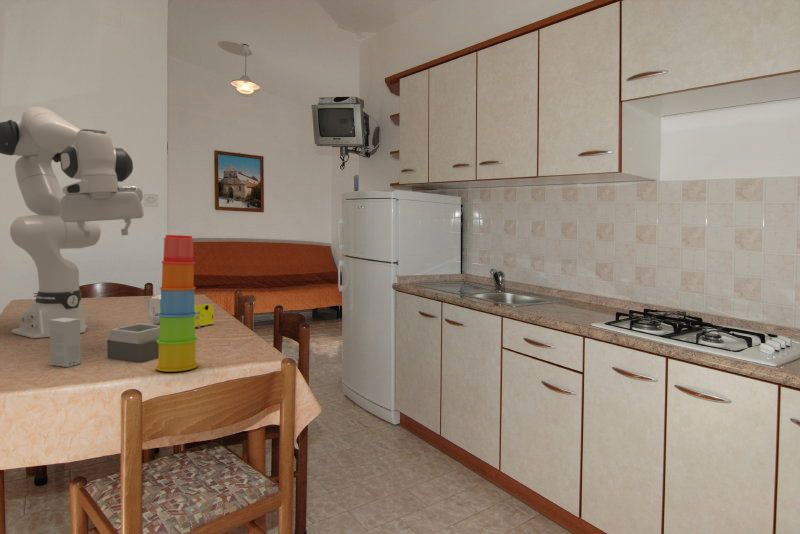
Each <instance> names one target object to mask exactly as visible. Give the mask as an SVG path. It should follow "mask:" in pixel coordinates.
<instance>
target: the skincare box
mask: <svg viewBox="0 0 800 534" xmlns="http://www.w3.org/2000/svg"><path fill="white" fill-rule="evenodd" d="M49 326H50V337H49V351H50V354H49V355H50V366H54V365H55V366H56V367H61V366H62V367H64V368H69V367H70V368H71V367H73V365H74V366H77V365H80V363H81V364H82V348H81V346H82V342H81V341H82V339H81V333H80V319H72V318H58V319H52V320H49Z"/></svg>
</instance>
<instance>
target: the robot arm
mask: <svg viewBox="0 0 800 534" xmlns="http://www.w3.org/2000/svg"><path fill="white" fill-rule="evenodd" d="M0 154H2V155H5V156H10V157H11V156H18V157H19V156H20V157H19V158H18V159H17V160H16V161H15V165H14V171H15V177H16V181H17V185H18V187H19V190H20V193H21V195H22V198H23V201H24V203H25V206H26V207H27V208H28V210H30V212H31V213H34V214H30V215H24V216H19V217H17V218H15V219H14V220H13V221H12V223H11V225H10V228H9V235H10V238H11V240H12V242H13V243H14V244H15V245H16V246H18V248H20V249H22V250H23V251H25V252H26V253H27V254H28V255H29V256H30V257H31V258H32V260H33V262H34V264H35V267H36V270H37V277H38V292H33V295H34V296H33V297H34V298H35V297H36V298H35V299H34V300H35V301H34V302H35V303H33V304H32V306H30V307H29V308H28V309H27V310H25V311H24V312H23V313H22V314H21V315H20V316H21V317H20V326H19V327H16V328H13V329H11V334H16V335H19V336H23V337H27V338H31V339H38V338H39V339H40V338H50V326H49V320H52V319H58V318H72V319H80V334H82V333H85V332H86V331H87V329H88V324H86V319H85V314H84V313H85V312H84V306H83V304H82V303H81V300H82V291H81V289H80V269H79V268H78V266H77V265H76V264H75V263H74V262H72V261H70V260H68V259H66V258H64V257H63V256H62V254H61V250H67V249H84V248H88V247H93V246H95V245H96V244H97V243H98V242H99V241H100V238H101V228H100V225H99V224H98V221H99V222H100V221H115V220H117V221H118V220H123V221H124V223H125V226H124V228H121V229H120V232H121V236H129V228H130V226H131V224H132V219H133V220H135V219H142V218H144V215H145V214H144V213H145V212H144V207H143V204H142V203H143V202H142V201H143V197H144V196H143V195H144V194H143V191H142V190H141V188H139V187H136V186H135V185H131V186H119V183H121V182H123V181H125V180H127V179H128V178H129V177H130V176H131V174H133V173H132V172H133V170H134V165H133V164H134V163H133V160H132V157H131V156H130V155H129V153H128V152H127V151H126V150H124V149H123V148H121V147H118V148H117V147H114V146H113V142H112V138H111V135H110V133H109V132H106V131H105V130H98V129H88V128H87V129H85V128H82V129H81V128H79V127H77V126H75V125H74V124H72V123H70V122H69V121H67V120H66V119H64V118H63V117H62V116H61V115H59V114H57V113H56V112H54V111H53V110H51V109H48V108H46V107H42V106H39V105H38V106H31V107H29V108H27V109H26V110H25V111H24V112H23V113H22V116H21V121H14V120H12V119H9V120H7V121H0ZM52 162H54V163H60V169H61V171H62V172H63V173H64V174H65V175H66V176H67V177H68V178H70V179H75V180H80V181H77V182H74V183H71V184H68V185H65V186H63V187H62V188H61V185H60V182H59V181H58V177H57V176H56V174H55V172H54V170H53V167H52Z"/></svg>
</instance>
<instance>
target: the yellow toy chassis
mask: <svg viewBox="0 0 800 534" xmlns="http://www.w3.org/2000/svg"><path fill="white" fill-rule="evenodd" d="M194 312H196V313H197V314H196V315H195V328H199V329H200V328H202V327H201V326H204V327H207V325H208V326H209V325H211V324H214V323H215V307H214V306H213V305H212V304H211V303H206V304H199V305H194Z"/></svg>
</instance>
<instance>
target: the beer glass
mask: <svg viewBox="0 0 800 534" xmlns="http://www.w3.org/2000/svg"><path fill="white" fill-rule="evenodd" d="M146 311H147V318H148V324H150V325H159V326H160V316H158V314H159V313H161V295H153V296H152V295H151V296H148V297H147V310H146Z"/></svg>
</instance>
